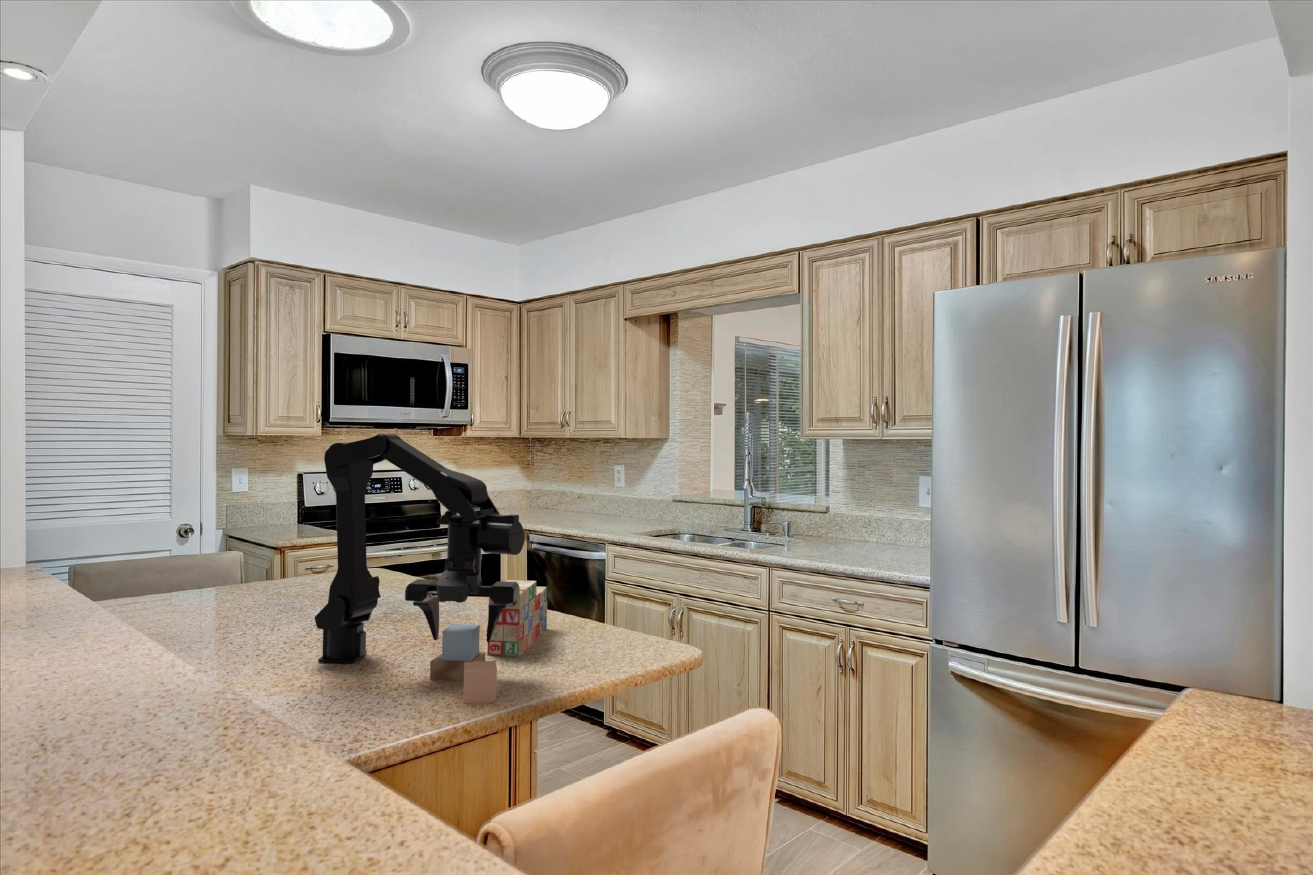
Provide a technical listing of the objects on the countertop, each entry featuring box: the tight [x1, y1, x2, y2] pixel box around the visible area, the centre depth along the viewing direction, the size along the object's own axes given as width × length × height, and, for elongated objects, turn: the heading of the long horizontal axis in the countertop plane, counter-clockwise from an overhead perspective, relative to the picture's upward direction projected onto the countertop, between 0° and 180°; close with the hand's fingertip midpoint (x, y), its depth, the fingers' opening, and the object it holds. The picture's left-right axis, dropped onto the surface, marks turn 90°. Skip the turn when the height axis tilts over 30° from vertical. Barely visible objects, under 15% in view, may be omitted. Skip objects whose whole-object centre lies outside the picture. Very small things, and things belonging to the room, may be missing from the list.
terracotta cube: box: [462, 660, 498, 704], centre depth 120 cm, size 5×5×5 cm
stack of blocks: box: [486, 579, 548, 658], centre depth 153 cm, size 21×6×12 cm, turn 174°
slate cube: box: [441, 623, 481, 661], centre depth 131 cm, size 5×5×5 cm
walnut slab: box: [429, 651, 486, 683], centre depth 131 cm, size 7×7×4 cm
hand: (462, 640), depth 131 cm, fingers open, 9 cm apart
